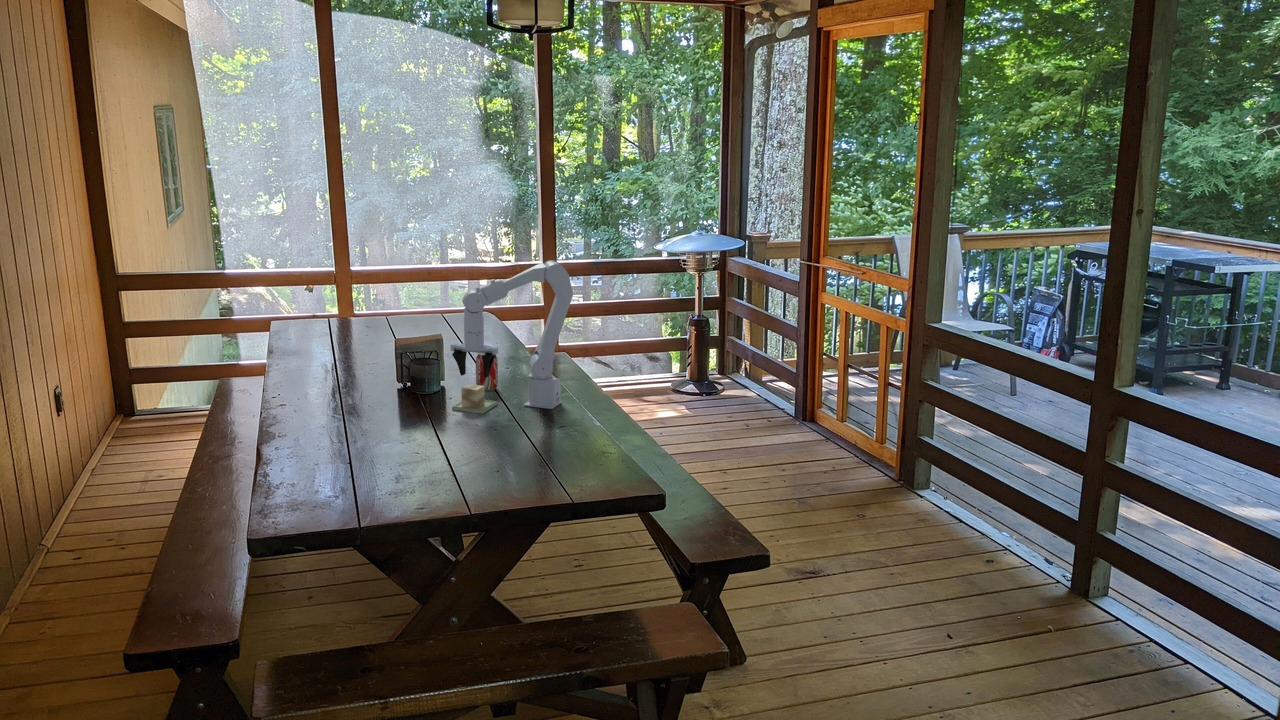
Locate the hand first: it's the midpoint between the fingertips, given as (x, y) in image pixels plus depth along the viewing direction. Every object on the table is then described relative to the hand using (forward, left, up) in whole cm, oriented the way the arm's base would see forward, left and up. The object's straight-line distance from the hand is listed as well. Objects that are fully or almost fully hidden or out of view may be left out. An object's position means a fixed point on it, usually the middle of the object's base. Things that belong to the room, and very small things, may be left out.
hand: (474, 375), depth 278 cm
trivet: (0, 0, -10) cm, 10 cm away
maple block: (0, +2, -9) cm, 9 cm away
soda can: (+6, -20, -10) cm, 24 cm away
